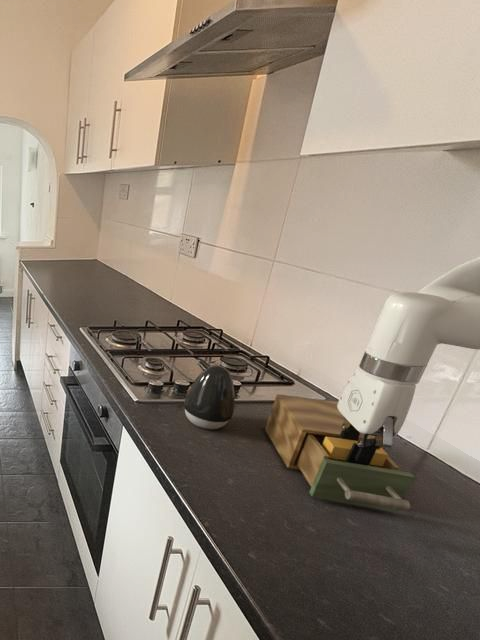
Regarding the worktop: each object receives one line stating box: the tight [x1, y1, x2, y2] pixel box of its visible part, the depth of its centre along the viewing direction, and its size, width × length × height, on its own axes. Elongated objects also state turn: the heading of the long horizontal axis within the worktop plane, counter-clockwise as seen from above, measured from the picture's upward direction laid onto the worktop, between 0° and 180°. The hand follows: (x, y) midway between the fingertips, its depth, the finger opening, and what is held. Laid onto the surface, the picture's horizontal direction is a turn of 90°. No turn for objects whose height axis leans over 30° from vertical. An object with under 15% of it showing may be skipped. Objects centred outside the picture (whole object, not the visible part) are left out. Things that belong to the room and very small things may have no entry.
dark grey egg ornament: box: [183, 360, 235, 430], centre depth 97 cm, size 10×10×15 cm
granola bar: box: [322, 436, 389, 466], centre depth 76 cm, size 8×3×3 cm, turn 72°
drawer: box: [295, 433, 415, 513], centre depth 76 cm, size 18×12×8 cm
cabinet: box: [264, 393, 387, 471], centre depth 87 cm, size 15×14×10 cm
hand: (351, 455), depth 76 cm, fingers closed on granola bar, 3 cm apart
